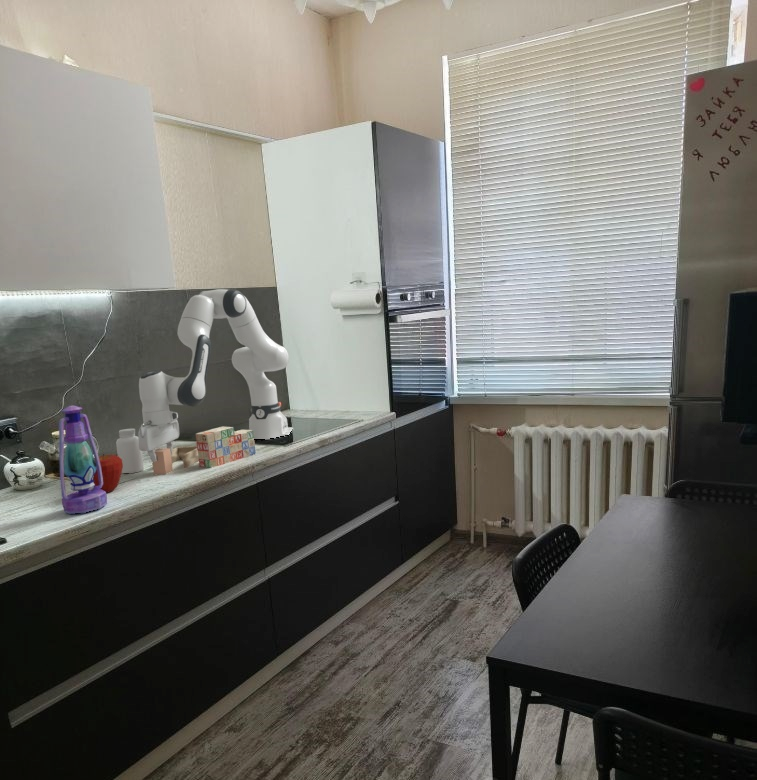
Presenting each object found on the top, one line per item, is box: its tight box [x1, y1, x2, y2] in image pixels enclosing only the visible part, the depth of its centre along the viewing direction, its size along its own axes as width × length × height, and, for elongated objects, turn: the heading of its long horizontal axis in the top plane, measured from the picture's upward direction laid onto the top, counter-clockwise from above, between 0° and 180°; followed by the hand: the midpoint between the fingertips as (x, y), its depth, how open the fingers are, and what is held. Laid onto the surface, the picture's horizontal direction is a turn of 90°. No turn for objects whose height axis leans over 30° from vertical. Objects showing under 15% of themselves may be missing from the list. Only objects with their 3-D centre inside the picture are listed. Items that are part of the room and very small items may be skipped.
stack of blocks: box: [195, 426, 256, 469], centre depth 221 cm, size 21×6×12 cm, turn 145°
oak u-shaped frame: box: [171, 445, 199, 468], centre depth 223 cm, size 14×11×4 cm
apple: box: [93, 453, 123, 493], centre depth 191 cm, size 11×11×12 cm
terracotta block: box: [152, 447, 174, 475], centre depth 210 cm, size 4×4×8 cm
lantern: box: [58, 405, 108, 515], centre depth 172 cm, size 13×12×30 cm
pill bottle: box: [115, 428, 145, 474], centre depth 215 cm, size 8×8×15 cm
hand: (162, 457), depth 210 cm, fingers open, 8 cm apart
